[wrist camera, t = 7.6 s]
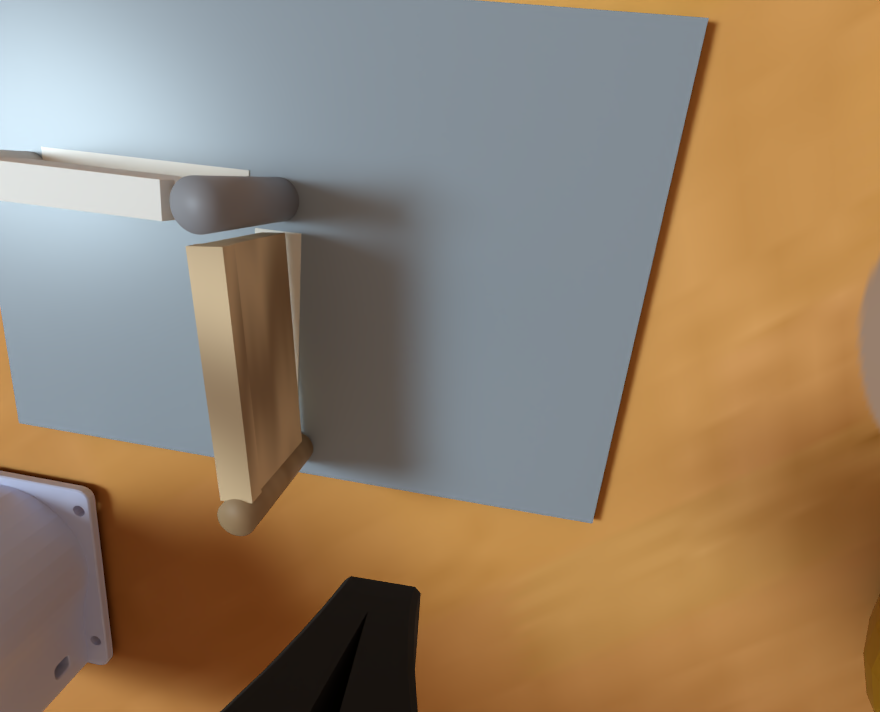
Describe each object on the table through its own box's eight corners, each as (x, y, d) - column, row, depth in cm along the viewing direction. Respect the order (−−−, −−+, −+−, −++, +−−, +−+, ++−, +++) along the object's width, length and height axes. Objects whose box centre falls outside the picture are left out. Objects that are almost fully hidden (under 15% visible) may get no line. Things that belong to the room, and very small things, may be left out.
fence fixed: (302, 223, 18) (223, 237, 13) (26, 189, 19) (-136, 191, 14) (302, 179, 18) (222, 178, 13) (20, 146, 19) (-149, 135, 14)
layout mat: (591, 518, 20) (592, 523, 20) (25, 419, 22) (18, 423, 22) (704, 21, 15) (709, 17, 14) (-46, -36, 17) (-57, -40, 17)
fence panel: (262, 230, 18) (179, 246, 14) (297, 231, 18) (223, 247, 13) (284, 459, 21) (220, 534, 16) (314, 462, 20) (257, 538, 16)
